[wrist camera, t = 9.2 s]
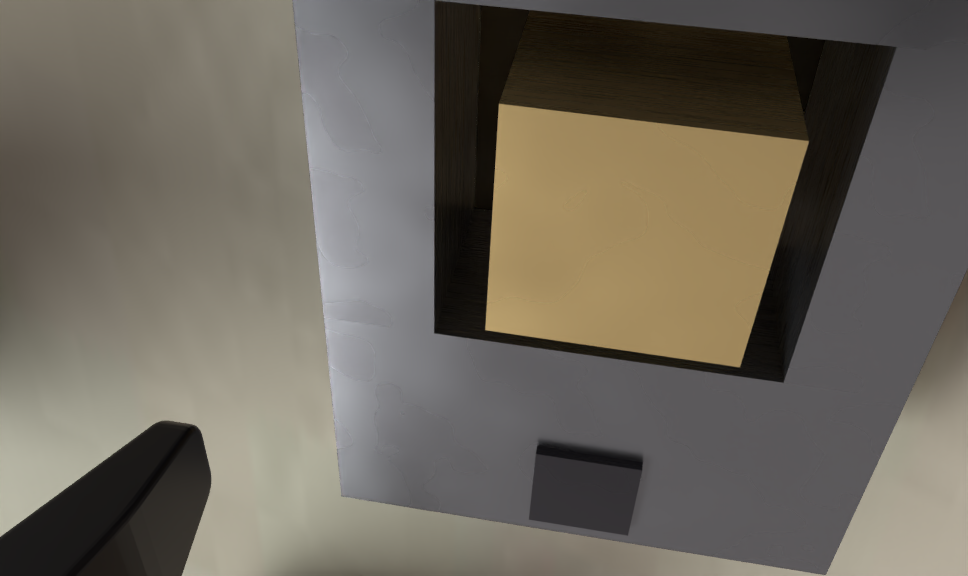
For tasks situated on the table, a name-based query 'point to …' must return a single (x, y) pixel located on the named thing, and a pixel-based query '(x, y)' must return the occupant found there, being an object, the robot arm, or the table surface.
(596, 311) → the tan wooden block
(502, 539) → the table surface
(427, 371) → the grey socket block
